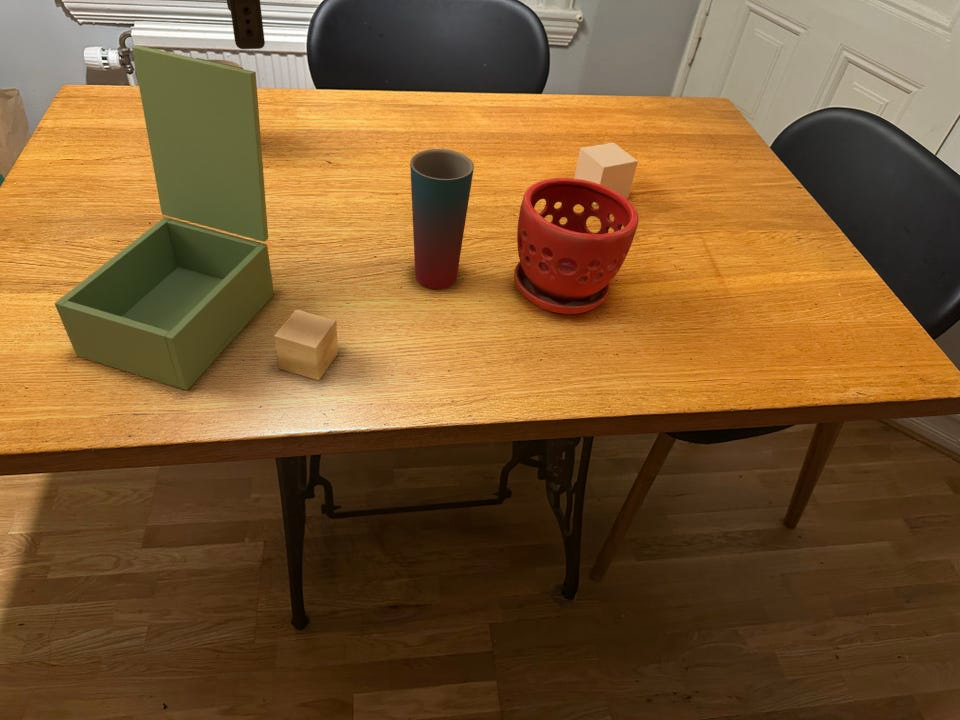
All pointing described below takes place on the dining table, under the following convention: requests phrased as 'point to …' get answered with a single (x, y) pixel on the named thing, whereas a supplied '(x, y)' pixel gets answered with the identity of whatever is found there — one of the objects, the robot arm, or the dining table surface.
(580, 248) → the flower pot
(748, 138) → the dining table surface
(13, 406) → the dining table surface
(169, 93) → the lunchbox lid
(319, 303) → the dining table surface
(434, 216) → the cup
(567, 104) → the dining table surface
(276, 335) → the wooden block
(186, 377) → the box
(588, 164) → the beige cube
